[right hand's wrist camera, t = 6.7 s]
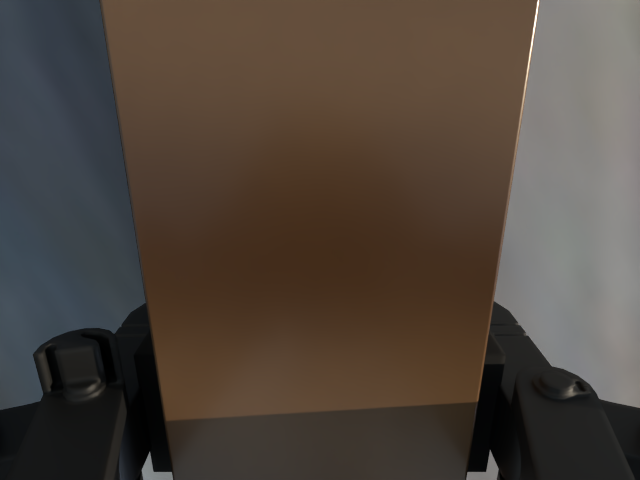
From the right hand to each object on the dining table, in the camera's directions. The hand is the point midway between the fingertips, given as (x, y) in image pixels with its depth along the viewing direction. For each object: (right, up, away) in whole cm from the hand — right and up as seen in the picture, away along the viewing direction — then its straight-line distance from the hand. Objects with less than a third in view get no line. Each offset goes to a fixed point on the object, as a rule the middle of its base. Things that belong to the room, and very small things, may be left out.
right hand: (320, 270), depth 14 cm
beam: (0, +27, -10) cm, 28 cm away
